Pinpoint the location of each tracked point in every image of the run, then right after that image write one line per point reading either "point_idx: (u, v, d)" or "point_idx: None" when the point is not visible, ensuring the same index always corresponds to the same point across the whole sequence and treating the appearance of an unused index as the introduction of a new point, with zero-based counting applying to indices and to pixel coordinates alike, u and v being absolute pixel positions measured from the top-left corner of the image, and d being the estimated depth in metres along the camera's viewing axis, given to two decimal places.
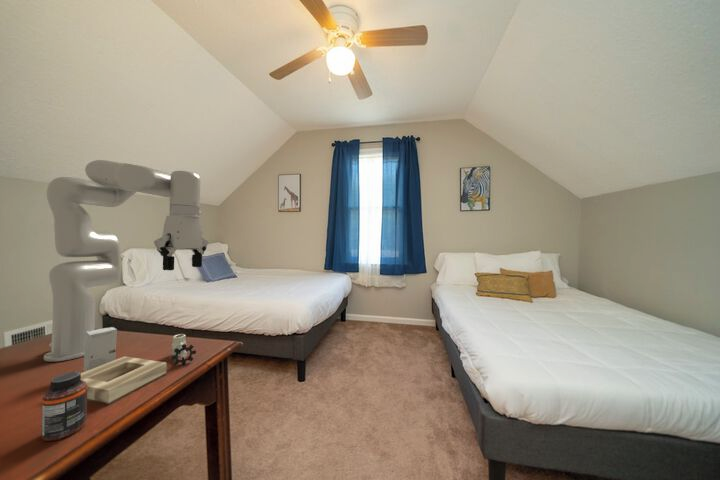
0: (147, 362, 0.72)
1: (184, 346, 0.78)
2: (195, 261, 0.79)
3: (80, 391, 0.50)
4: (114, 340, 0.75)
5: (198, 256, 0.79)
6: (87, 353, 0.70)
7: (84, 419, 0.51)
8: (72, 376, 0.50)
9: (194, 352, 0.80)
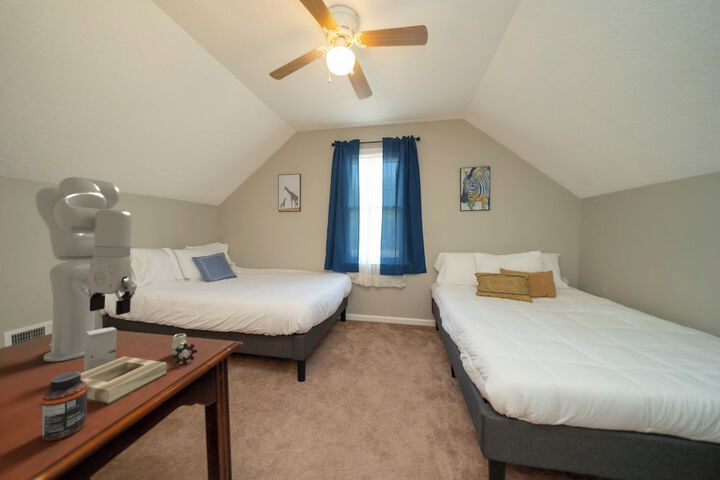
0: (147, 362, 0.72)
1: (185, 345, 0.78)
2: (97, 304, 0.71)
3: (80, 390, 0.50)
4: (114, 340, 0.75)
5: (102, 297, 0.72)
6: (87, 353, 0.70)
7: (84, 419, 0.51)
8: (72, 376, 0.50)
9: (195, 351, 0.80)
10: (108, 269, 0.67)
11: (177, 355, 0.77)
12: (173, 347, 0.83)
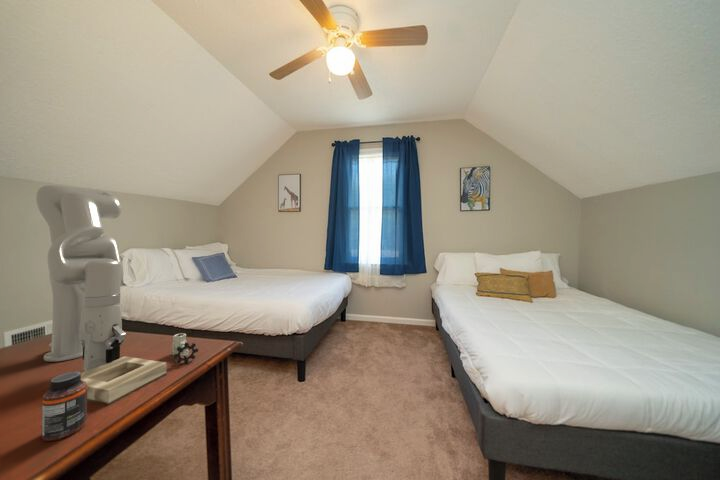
0: (147, 362, 0.72)
1: (187, 344, 0.79)
2: None
3: (80, 390, 0.50)
4: (114, 340, 0.75)
5: None
6: (87, 353, 0.70)
7: (84, 419, 0.51)
8: (72, 376, 0.50)
9: (196, 350, 0.81)
10: (98, 318, 0.70)
11: (178, 354, 0.77)
12: (173, 347, 0.84)
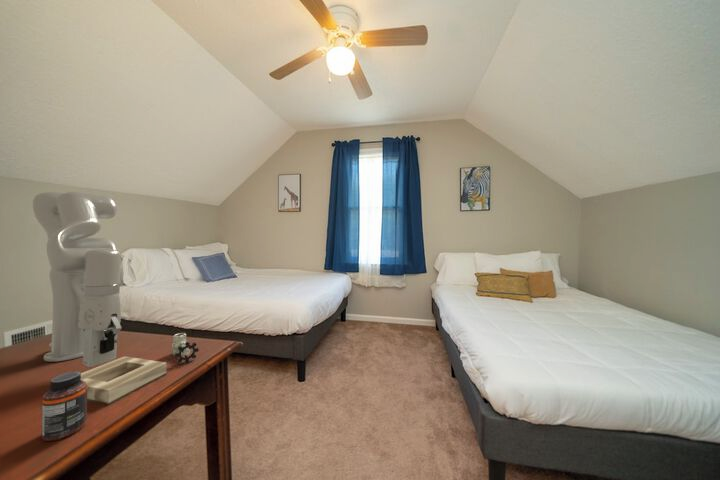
0: (147, 362, 0.72)
1: (187, 344, 0.79)
2: None
3: (80, 390, 0.50)
4: None
5: None
6: (90, 344, 0.71)
7: (84, 419, 0.51)
8: (72, 376, 0.50)
9: (197, 350, 0.81)
10: (97, 308, 0.71)
11: (179, 354, 0.78)
12: (174, 346, 0.84)
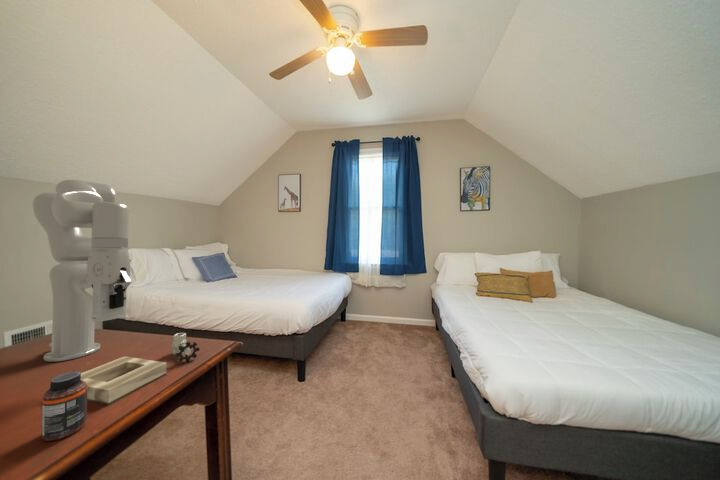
0: (147, 362, 0.72)
1: (188, 343, 0.80)
2: None
3: (80, 390, 0.50)
4: None
5: None
6: (99, 298, 0.68)
7: (84, 419, 0.51)
8: (72, 376, 0.50)
9: (198, 349, 0.82)
10: (106, 260, 0.68)
11: (180, 353, 0.78)
12: (174, 346, 0.84)
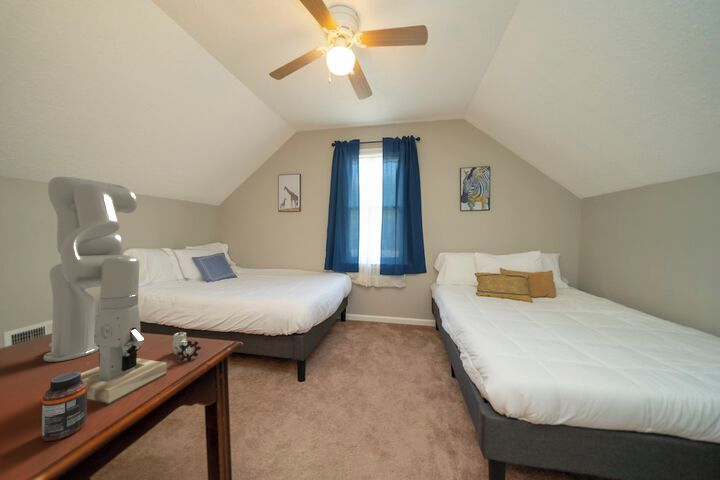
0: (147, 362, 0.72)
1: (190, 342, 0.81)
2: None
3: (80, 391, 0.50)
4: None
5: None
6: (107, 363, 0.64)
7: (84, 419, 0.51)
8: (72, 376, 0.50)
9: (199, 348, 0.83)
10: (116, 321, 0.64)
11: (182, 352, 0.79)
12: (174, 345, 0.85)
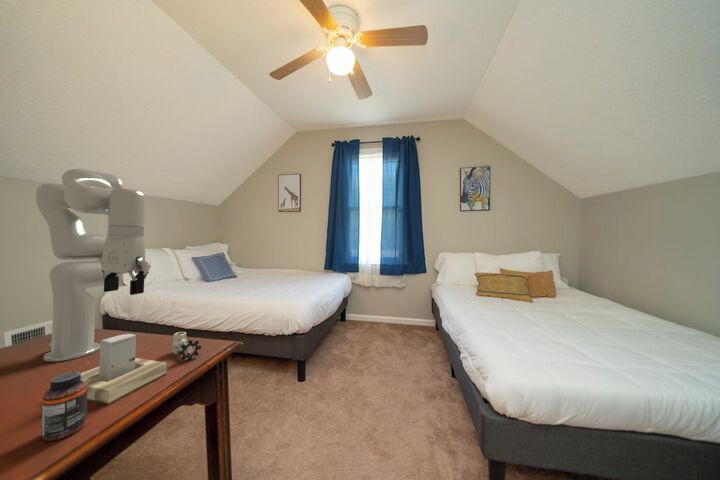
0: (147, 362, 0.72)
1: (190, 342, 0.81)
2: (111, 285, 0.71)
3: (80, 390, 0.50)
4: (134, 347, 0.69)
5: (116, 278, 0.72)
6: (107, 363, 0.64)
7: (84, 419, 0.51)
8: (72, 376, 0.50)
9: (199, 347, 0.83)
10: (122, 248, 0.67)
11: (183, 351, 0.79)
12: (174, 345, 0.85)
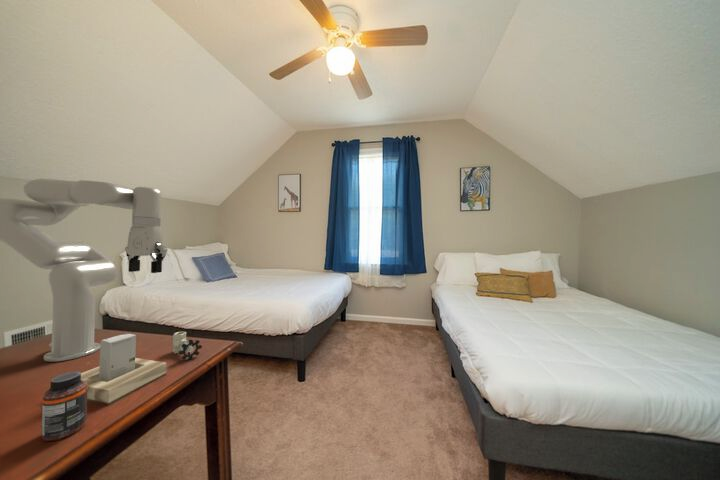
0: (147, 362, 0.72)
1: (191, 341, 0.81)
2: (134, 266, 0.86)
3: (80, 390, 0.50)
4: (134, 347, 0.69)
5: (138, 261, 0.87)
6: (107, 363, 0.64)
7: (84, 419, 0.51)
8: (72, 376, 0.50)
9: (200, 347, 0.84)
10: (144, 235, 0.82)
11: (184, 351, 0.80)
12: (174, 345, 0.85)
